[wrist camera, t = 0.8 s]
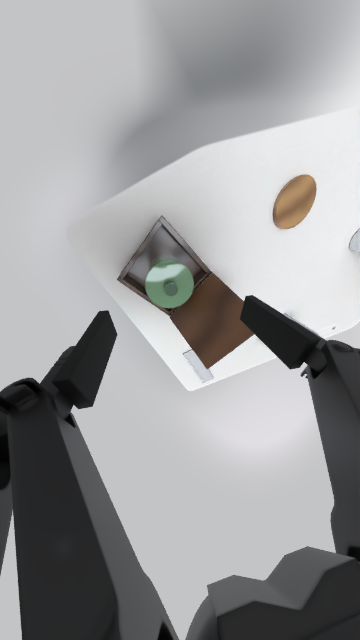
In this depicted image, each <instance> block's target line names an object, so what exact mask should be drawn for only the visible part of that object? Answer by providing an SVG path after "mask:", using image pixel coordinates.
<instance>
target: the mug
mask: <svg viewBox="0 0 360 640" xmlns="http://www.w3.org/2000/svg"><path fill="white" fill-rule="evenodd" d="M350 250H352V251H356V252H360V229H359V230H358V231H357V232H356V234H355V235H354V236H353V238H352V240H351V242H350Z"/></svg>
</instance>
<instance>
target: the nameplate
mask: <svg viewBox="0 0 360 640" xmlns="http://www.w3.org/2000/svg"><path fill="white" fill-rule="evenodd" d="M183 355H184V356H185V358H186V359H187V361H188V362H189V363H190V365H191V366H192V368H193V369H194V371H195V372H196V374H197V375H198V377H199V378H200V380H201V381H202V382H203V383H204V382H206V381H209V380H211V379H213V376H212V375H211V373H210V371H209V369H206V368H205V366H204V365H203V363H202V362H201V361H200V359H199V358H198V356H197V355H196V354H195V352H194V351H193V349H192V350H190V351H188V352H186V353H184V354H183Z"/></svg>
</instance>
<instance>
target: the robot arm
mask: <svg viewBox="0 0 360 640" xmlns="http://www.w3.org/2000/svg"><path fill="white" fill-rule="evenodd" d="M240 320H241V321H242V322H243V323H244V324H245V325H246V326H247V327H248V328H249V329H250V330H251V331H252V332H253V333H254V334H255V335H256V336H257V337H258V338H259V339H260V340H261V341H262V342H263V343H264V344H265V345H266V346H267V347H268V348H269V349H270V350H271V351H272V352H273V353H274V354H275V355H276V356H277V357H278V358H279V359H280V360H281V361H282V362H283V363H284V364H286V366H287V367H288V368H289V369H295V368H299V367H300V366H301V365H302V364H303V362H305V363H306V364H307V365H308V366H307V367H306V368H305V369H304V371H303V372H302V373H301V376H303V375H304V374H307V376H306V378H308V382H309V386H310V390H311V395H312V400H313V404H314V409H315V413H316V418H317V422H318V427H319V431H320V436H321V440H322V445H323V450H324V454H325V458H326V463H327V467H328V472H329V476H330V481H331V485H332V490H333V495H334V507H333V510H332V512H331V528H332V534H333V539H334V543H335V550H336V553H332V552H328V551H324V550H320V549H316V548H311V547H308V546H307V547H305V548H302V549H300V550H297V551H295V552H292V553H289V554H287V555H285V556H284V557H283V558H282V560H281V561H280V562H279V564H278V565H277V566H276V568H275V569H274V570H273V572H272V573H271V574H270V576H269V577H268V578H267V579H266V580H264V581H261V580H257V579H251V578H246V577H241V576H236V575H232V576H230V577H227V578H225V579H222V580H220V581H217V582H215V583H212V584H209V585H207V588H208V593H209V595H208V596H207V597H206V599H205V600H204V601H203V602H202V604H201V605H200V607H199V609H198V610H197V612H196V614H195V616H194V618H193V621H192V623H191V625H190V628H189V631H188V634H187V637H186V640H360V349H357V348H353V347H351V346H349V345H348V344H345V343H343V342H340V341H336V340H328V341H326V340H325V339H323V338H321V337H320V336H318V335H317V334H315V333H313V332H312V331H310V330H309V329H306V328H305V327H304V326H302V325H301V324H299V323H297V322H296V321H294V320H292V319H289V318H288V317H286V316H285V315H283V314H281V313H280V312H278V311H277V310H275V309H274V308H272V307H270V306H269V305H267V304H266V303H264V302H262V301H261V300H259V299H258V298H256V297H255V296H253V295H251V296H246V297H245V301H244V304H243V308H242V312H241V316H240ZM116 337H117V332H116V330H115V327H114V324H113V322H112V319H111V316H110V314H109V311H99V312H98V314H97V315H96V317H95V318H94V319H93V321H92V322H91V324H90V325H89V327H88V328H87V330H86V331H85V333H84V334H83V336H82V337H81V339H80V340H79V342H78V343H77V345H76V346H71V347H69V348H68V349H67V350H66V351H64V352H63V353H62V355H61V356H60V357H59V359H58V361H57V362H56V363H55V364H54V366H53V367H52V368H51V370H50V371H49V372H48V374H47V375H46V376H45V378H44V379H43V380H42V382H41V383H40V384H39V383H38V382H37V381H36V380H34V379H33V378H25V379H21V380H19V381H16V382H14V383H12V384H11V385H9V386H7V387H6V388H4V389H3V390H2V391H1V392H0V574H1V569H2V564H3V558H4V553H5V547H6V542H7V537H8V532H9V527H10V521H11V516H12V511H13V515H14V529H15V543H16V556H17V557H16V558H17V571H18V586H19V601H20V615H21V629H22V640H179V639H178V636H177V635H176V632H175V630H174V628H173V626H172V624H171V621H170V619H169V617H168V615H167V613H166V610H165V608H164V606H163V604H162V602H161V600H160V597H159V595H158V593H157V591H156V589H155V587H154V586H153V584H152V582H151V580H150V579H149V577H148V576H147V575H146V574H145V573H144V571H143V570H142V568H141V566H140V564H139V562H138V560H137V557H136V555H135V553H134V551H133V548H132V546H131V544H130V541H129V539H128V537H127V535H126V533H125V531H124V528H123V526H122V524H121V521H120V519H119V517H118V515H117V513H116V510H115V508H114V506H113V503H112V501H111V499H110V497H109V494H108V492H107V490H106V488H105V485H104V483H103V481H102V479H101V477H100V474H99V472H98V470H97V467H96V465H95V463H94V461H93V458H92V456H91V454H90V452H89V449H88V447H87V445H86V443H85V441H84V438H83V436H82V434H81V432H80V429H79V427H78V425H77V423H76V421H75V418H74V416H73V414H72V413H71V412H70V411H71V409H72V407H73V405H75V406H76V407H77V408H78V409H82V408H87V407H92V406H93V404H94V401H95V398H96V395H97V392H98V389H99V386H100V383H101V380H102V378H103V375H104V372H105V369H106V366H107V363H108V360H109V357H110V354H111V352H112V349H113V346H114V343H115V340H116Z"/></svg>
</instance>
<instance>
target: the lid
mask: <svg viewBox="0 0 360 640" xmlns="http://www.w3.org/2000/svg"><path fill="white" fill-rule="evenodd" d="M243 304H244V301H243V300H242V299H241V298H240V297H238V296H237V295H236V294H235V293H234V292H233V291H232V290H231V289H230V288H229V287H228V286H227V285H225V284H224V283H223V282H222V281H221V280H220V279H219V278H218V277H217V276H216V275H215V274H214V273H212V274H211V275H210V276H209V277H208V278H207V279H206V280H205V281H204V282H203V283H202V284H201V285H200V286H199V287H198V288H197V289H196V290H195V291H194V292H193V293H192V294H191V296H190V297H189V299H188V300H187V301H186V302H185V303H184V304H182V305H181V306H180V307H179V308H178V309H177V310H176V311H175V312H174V313H173V314H172V315H171V316H170V319H171V320H172V322H173V323H174V324H175V326H176V327H177V329H178V330H179V331H180V333H181V334H182V336H183V337H184V338H185V340H186V341H187V343H188V344H189V345H190V347H191V348H192V349H193V351H194V352H195V354H196V355H197V356H198V358H199V359H200V361H201V362H202V363H203V365H204V366H205V368H206V369H209V368H210V367H211V366H213V365H214V364H215V363H217V362H218V361H219V360H221V359H222V358H223V357H225V356H226V355H227V354H229V353H230V352H231V351H233V350H234V349H235V348H237V347H238V346H239V345H241V344H242V343H243V342H245V341H246V340H247V339H249V338H250V337H251V336H253V335H254V333H253V332H252V331H251V330H250V329H249V328H248V327H247V326H246V325H245V324H244V323H243V322H242V321H241V320H240V316H241V312H242V308H243Z"/></svg>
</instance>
